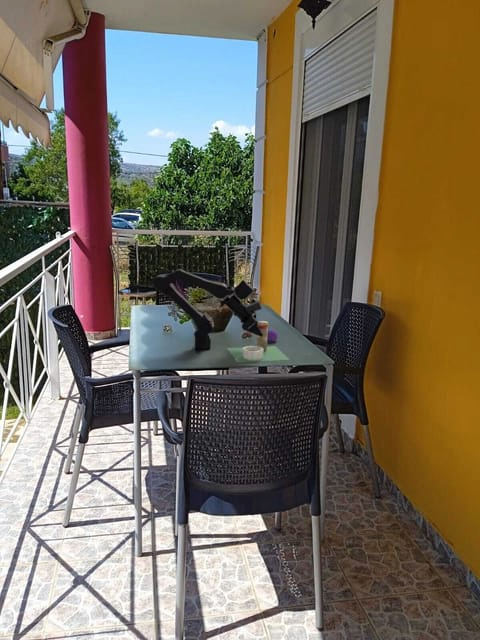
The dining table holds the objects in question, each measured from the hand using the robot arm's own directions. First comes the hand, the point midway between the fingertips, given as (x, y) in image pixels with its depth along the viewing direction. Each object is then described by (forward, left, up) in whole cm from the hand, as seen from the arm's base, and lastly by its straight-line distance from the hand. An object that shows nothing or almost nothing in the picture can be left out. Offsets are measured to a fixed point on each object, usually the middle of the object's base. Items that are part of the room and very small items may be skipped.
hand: (262, 333), depth 199 cm
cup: (-6, -8, -8) cm, 13 cm away
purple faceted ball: (+9, +21, -9) cm, 24 cm away
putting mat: (-3, -4, -8) cm, 10 cm away
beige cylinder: (0, 0, -8) cm, 8 cm away
